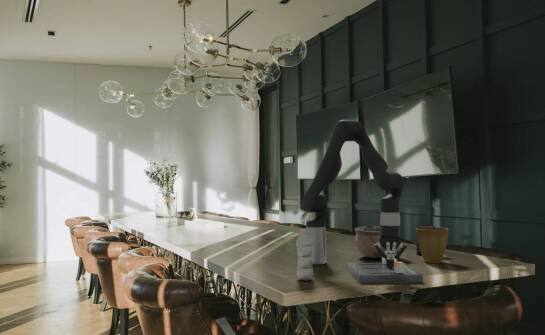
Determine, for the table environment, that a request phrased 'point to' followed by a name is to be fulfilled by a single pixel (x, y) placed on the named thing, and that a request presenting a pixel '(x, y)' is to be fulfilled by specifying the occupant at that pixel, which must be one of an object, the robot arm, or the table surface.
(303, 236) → the plastic bottle
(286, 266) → the table surface
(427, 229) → the plant pot
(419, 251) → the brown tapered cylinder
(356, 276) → the breaker panel
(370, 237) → the ceramic bowl
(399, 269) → the block
